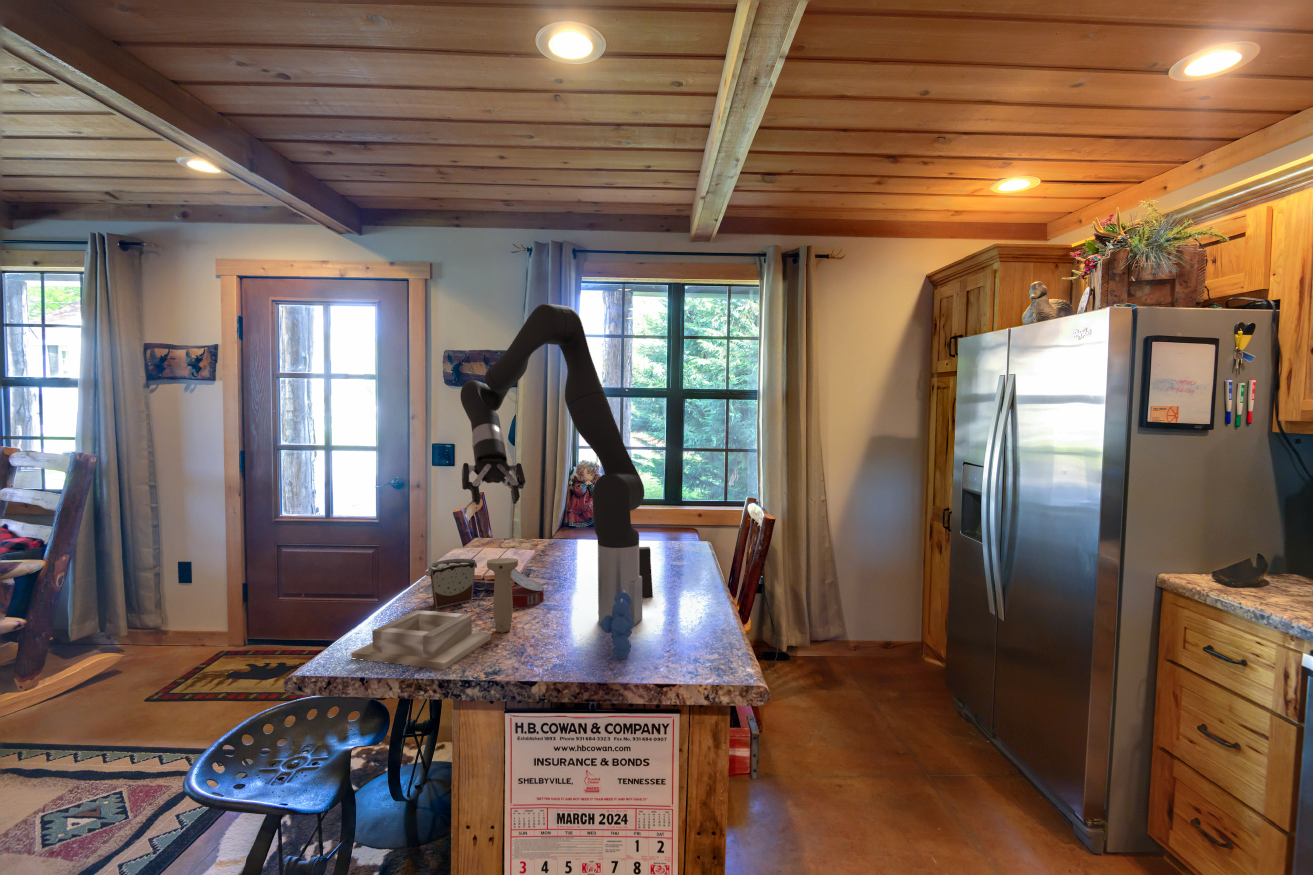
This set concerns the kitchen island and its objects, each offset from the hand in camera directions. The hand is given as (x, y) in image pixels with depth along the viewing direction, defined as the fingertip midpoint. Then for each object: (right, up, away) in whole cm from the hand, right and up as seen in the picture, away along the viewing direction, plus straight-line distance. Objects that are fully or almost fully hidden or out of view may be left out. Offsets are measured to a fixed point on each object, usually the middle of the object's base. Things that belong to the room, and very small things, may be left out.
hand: (497, 502), depth 138 cm
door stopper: (+32, -26, +18) cm, 45 cm away
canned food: (+4, -26, +12) cm, 29 cm away
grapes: (+29, -27, -24) cm, 46 cm away
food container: (-15, -26, +11) cm, 32 cm away
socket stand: (-9, -27, -20) cm, 34 cm away
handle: (+4, -26, -10) cm, 29 cm away
